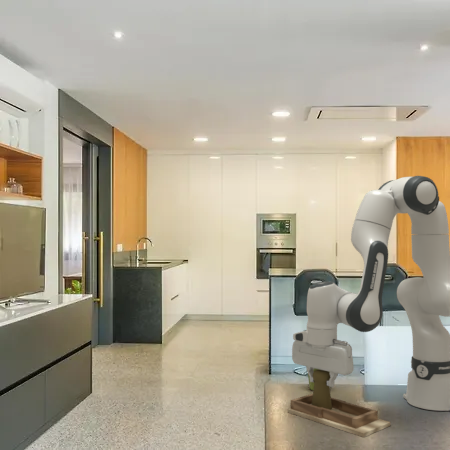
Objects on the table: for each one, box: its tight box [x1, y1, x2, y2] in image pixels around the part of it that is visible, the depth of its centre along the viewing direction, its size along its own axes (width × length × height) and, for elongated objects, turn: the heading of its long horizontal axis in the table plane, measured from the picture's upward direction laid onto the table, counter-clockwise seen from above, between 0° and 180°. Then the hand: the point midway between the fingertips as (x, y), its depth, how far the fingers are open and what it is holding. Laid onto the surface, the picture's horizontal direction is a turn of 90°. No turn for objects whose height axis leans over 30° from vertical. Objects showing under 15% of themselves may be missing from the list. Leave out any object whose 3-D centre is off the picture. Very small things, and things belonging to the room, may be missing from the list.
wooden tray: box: [287, 393, 392, 438], centre depth 155 cm, size 13×26×4 cm, turn 42°
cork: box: [312, 369, 332, 410], centre depth 160 cm, size 6×6×11 cm
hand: (321, 384), depth 160 cm, fingers closed on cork, 5 cm apart
